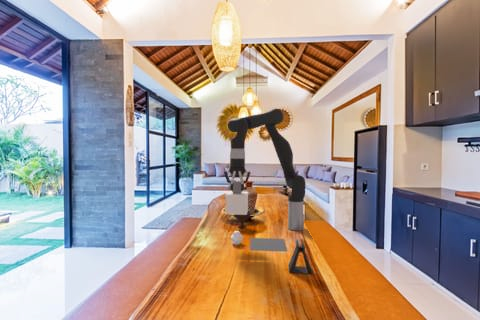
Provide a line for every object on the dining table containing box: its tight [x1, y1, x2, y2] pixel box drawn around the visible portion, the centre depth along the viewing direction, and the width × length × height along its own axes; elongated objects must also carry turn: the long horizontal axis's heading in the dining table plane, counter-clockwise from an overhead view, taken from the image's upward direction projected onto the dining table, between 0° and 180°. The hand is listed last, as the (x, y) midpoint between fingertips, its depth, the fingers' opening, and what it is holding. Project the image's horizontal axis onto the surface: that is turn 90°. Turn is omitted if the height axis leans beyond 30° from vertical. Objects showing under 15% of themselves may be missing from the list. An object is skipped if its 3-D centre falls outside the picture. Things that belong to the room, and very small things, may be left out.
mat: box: [249, 237, 288, 252], centre depth 138 cm, size 18×18×1 cm
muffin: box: [230, 230, 244, 246], centre depth 139 cm, size 6×6×7 cm
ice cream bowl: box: [233, 210, 252, 229], centre depth 169 cm, size 11×11×15 cm
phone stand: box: [288, 238, 313, 275], centre depth 109 cm, size 9×6×12 cm, turn 82°
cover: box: [225, 180, 249, 215], centre depth 138 cm, size 11×11×16 cm
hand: (237, 191), depth 138 cm, fingers closed on cover, 4 cm apart
